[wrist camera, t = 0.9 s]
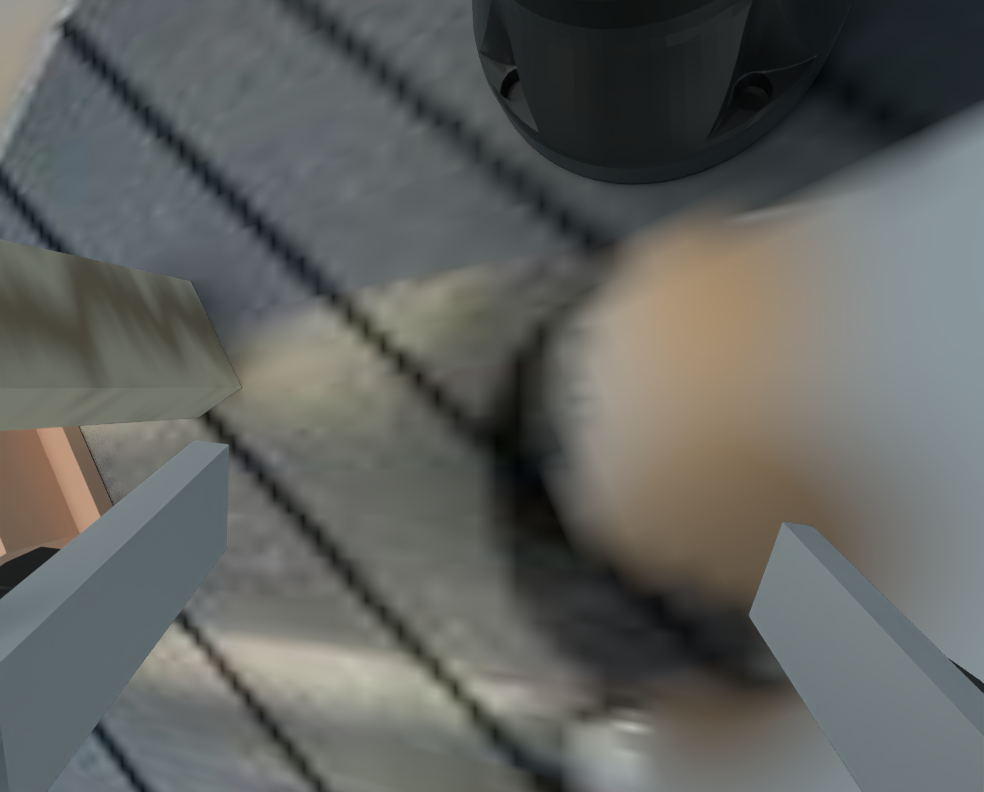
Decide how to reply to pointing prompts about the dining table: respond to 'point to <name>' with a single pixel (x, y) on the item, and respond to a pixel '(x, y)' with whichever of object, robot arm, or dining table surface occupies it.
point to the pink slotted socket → (46, 489)
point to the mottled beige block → (102, 344)
